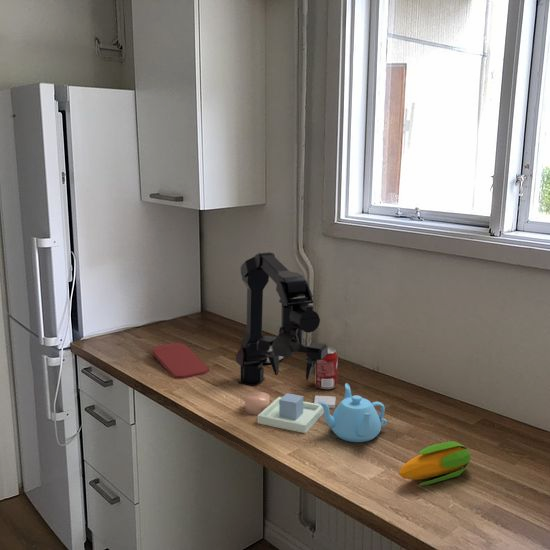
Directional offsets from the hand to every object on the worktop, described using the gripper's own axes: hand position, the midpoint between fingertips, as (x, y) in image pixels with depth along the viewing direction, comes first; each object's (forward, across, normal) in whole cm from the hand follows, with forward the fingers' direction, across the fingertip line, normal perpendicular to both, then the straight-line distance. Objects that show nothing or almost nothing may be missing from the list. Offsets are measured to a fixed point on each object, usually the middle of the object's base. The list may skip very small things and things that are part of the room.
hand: (291, 377), depth 170 cm
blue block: (+11, 0, 0) cm, 11 cm away
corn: (+12, +42, -15) cm, 46 cm away
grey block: (+12, +5, +13) cm, 19 cm away
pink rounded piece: (+12, -11, +1) cm, 16 cm away
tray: (+12, 0, 0) cm, 12 cm away
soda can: (+12, +1, +25) cm, 28 cm away
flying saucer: (+12, -28, +40) cm, 50 cm away
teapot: (+12, +18, -2) cm, 22 cm away
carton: (+12, -52, +22) cm, 57 cm away
